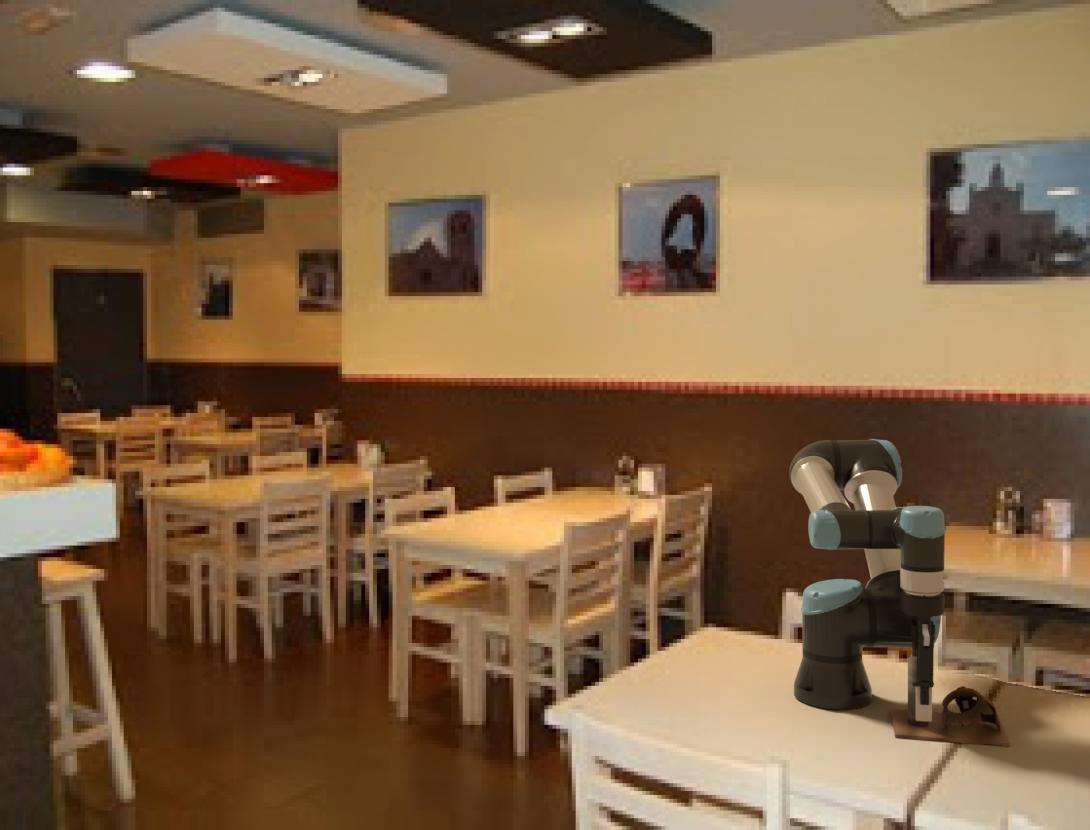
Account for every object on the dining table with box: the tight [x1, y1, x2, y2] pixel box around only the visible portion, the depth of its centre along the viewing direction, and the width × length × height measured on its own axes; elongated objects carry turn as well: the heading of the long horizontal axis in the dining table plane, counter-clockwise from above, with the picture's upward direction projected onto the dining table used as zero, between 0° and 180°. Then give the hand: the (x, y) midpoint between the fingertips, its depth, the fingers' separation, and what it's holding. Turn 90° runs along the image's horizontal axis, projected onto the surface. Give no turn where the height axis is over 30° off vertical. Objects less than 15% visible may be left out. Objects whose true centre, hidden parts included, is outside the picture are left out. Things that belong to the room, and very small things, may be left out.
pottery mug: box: [941, 685, 1002, 732], centre depth 177 cm, size 12×10×8 cm
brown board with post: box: [889, 656, 1011, 747], centre depth 178 cm, size 19×13×13 cm
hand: (922, 715), depth 179 cm, fingers closed on brown board with post, 4 cm apart
